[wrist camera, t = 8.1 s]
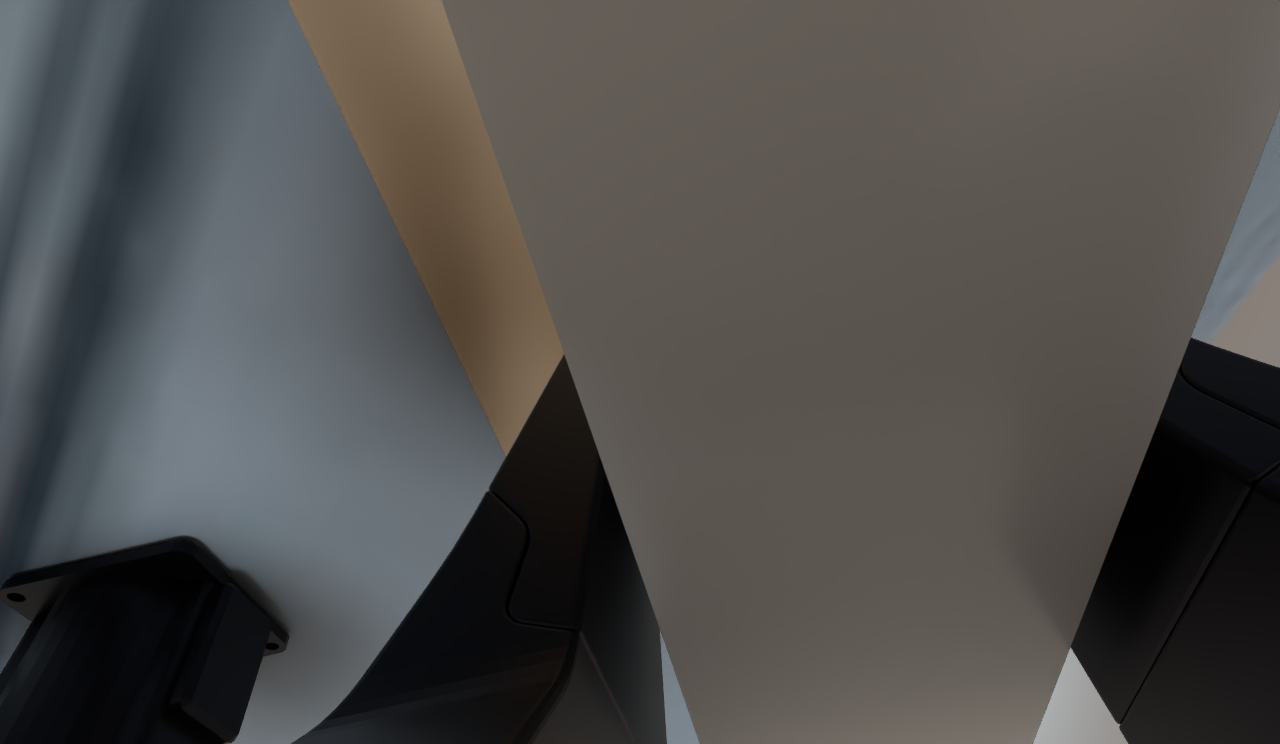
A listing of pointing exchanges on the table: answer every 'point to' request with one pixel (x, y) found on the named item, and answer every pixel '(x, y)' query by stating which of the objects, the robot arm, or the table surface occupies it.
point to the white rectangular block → (872, 317)
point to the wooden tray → (441, 190)
